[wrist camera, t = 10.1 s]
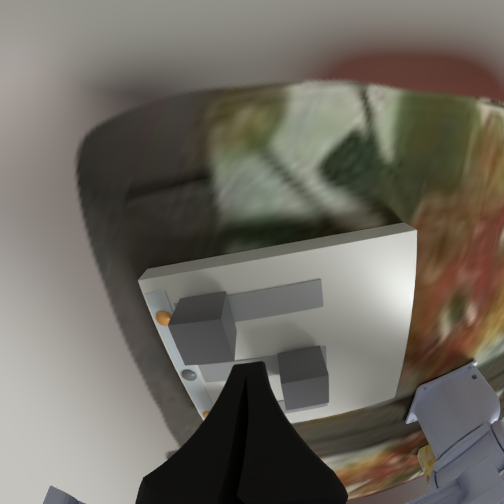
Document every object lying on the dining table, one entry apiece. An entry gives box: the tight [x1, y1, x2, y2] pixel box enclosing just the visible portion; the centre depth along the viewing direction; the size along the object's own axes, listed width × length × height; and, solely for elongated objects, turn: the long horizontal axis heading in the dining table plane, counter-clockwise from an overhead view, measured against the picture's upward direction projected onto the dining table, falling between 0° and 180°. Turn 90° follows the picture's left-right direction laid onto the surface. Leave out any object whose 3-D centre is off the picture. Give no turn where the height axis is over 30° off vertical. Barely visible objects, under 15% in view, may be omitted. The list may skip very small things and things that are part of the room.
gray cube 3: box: [168, 291, 237, 366], centre depth 16 cm, size 3×3×3 cm
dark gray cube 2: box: [277, 345, 329, 411], centre depth 17 cm, size 3×3×3 cm
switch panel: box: [138, 223, 417, 423], centre depth 20 cm, size 18×17×2 cm
